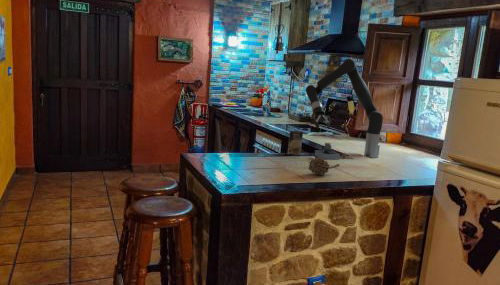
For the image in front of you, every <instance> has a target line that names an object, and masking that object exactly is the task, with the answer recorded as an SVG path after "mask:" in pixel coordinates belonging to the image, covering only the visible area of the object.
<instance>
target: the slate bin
mask: <svg viewBox="0 0 500 285" xmlns="http://www.w3.org/2000/svg"><path fill="white" fill-rule="evenodd" d="M323 152H324V149H323V150H321V149H319V150H318V149H314V159H315V158H316V159H318V158H321V160H322V159H324V161H325V162H326V161H327V160H330V161H331V160H332V161H334V160H335V161H338V160H340V159H339V158H340V156H341V154H340V153H337V152H335V151H332V150H331V153H332V154H323Z"/></svg>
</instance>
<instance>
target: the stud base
mask: <svg viewBox="0 0 500 285" xmlns="http://www.w3.org/2000/svg"><path fill="white" fill-rule="evenodd" d="M339 160H354V158H353V157H350V156H348V155H347V154H346V153H345V152H343V153H342V155H340V158H339Z"/></svg>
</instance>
